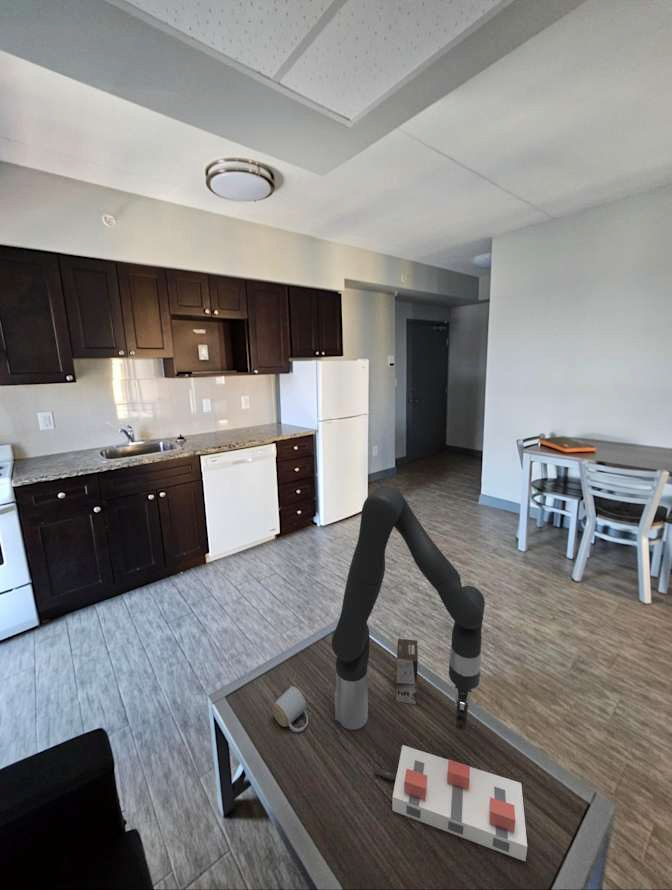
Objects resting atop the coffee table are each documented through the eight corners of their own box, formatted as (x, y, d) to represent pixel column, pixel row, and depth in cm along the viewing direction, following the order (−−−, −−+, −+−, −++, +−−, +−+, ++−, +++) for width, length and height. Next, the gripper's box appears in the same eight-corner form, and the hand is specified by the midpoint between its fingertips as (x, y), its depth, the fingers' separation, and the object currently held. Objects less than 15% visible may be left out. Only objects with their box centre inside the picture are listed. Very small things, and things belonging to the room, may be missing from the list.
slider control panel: (368, 802, 94) (367, 787, 93) (380, 750, 106) (380, 737, 105) (525, 862, 82) (527, 846, 81) (519, 797, 94) (521, 782, 93)
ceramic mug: (271, 719, 116) (269, 698, 114) (290, 700, 122) (289, 680, 120) (295, 741, 110) (294, 720, 108) (315, 720, 116) (314, 700, 114)
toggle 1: (404, 792, 92) (404, 781, 91) (406, 779, 94) (406, 768, 94) (425, 799, 90) (425, 788, 89) (426, 786, 93) (427, 775, 92)
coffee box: (416, 704, 120) (417, 661, 116) (395, 701, 121) (396, 658, 117) (416, 680, 128) (417, 639, 124) (397, 677, 130) (397, 637, 126)
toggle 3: (489, 823, 85) (490, 811, 84) (489, 808, 88) (490, 796, 87) (514, 832, 84) (515, 820, 83) (512, 816, 86) (514, 805, 85)
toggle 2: (447, 782, 93) (447, 771, 93) (447, 770, 96) (448, 759, 95) (468, 789, 92) (469, 778, 91) (468, 777, 94) (469, 766, 94)
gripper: (451, 639, 105) (448, 688, 109) (447, 681, 92) (444, 734, 96) (480, 646, 102) (476, 695, 106) (480, 689, 89) (476, 744, 93)
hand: (461, 713), depth 101 cm, fingers open, 8 cm apart
